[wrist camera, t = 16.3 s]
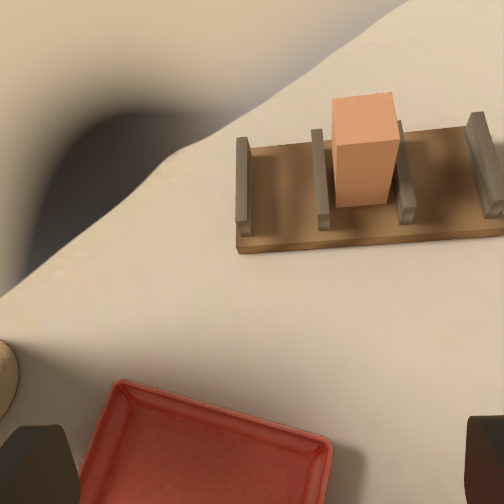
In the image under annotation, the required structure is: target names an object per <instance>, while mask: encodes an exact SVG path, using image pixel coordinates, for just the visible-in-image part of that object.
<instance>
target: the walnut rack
mask: <svg viewBox="0 0 504 504" xmlns="http://www.w3.org/2000/svg"><path fill="white" fill-rule="evenodd" d="M397 124H398V129H399V135H400V143H399V147H398V152H397V157H396V161H395V166H394V171H393V176H392V180H391V185H390V190H389V194H388V199H387V204H379V205H366V206H354V207H341V208H336V206H335V195H334V184H333V173H332V140H326V141H323V133H322V129H314V130H311V136H312V142H307V143H297V144H287V145H277V146H268V147H258V148H250V146H249V143H248V139H247V137H239V138H237V142H236V210H235V222H236V248H237V250H238V253H239V254H246V253H261V252H275V251H289V250H304V249H318V248H332V247H347V246H361V245H375V244H390V243H404V242H418V241H432V240H447V239H461V238H475V237H490V236H500V234H501V233H502V232H503V230H504V221H503V217H502V213H501V210H502V209H503V207H504V181H503V177H502V174H501V171H500V167H499V164H498V160H497V157H496V153H495V150H494V146H493V143H492V139H491V136H490V132H489V129H488V125H487V122H486V119H485V115H484V112H474V113H471V115H470V118H469V120H468V123H467V125H466V126H462V127H452V128H443V129H433V130H423V131H414V132H404V133H403V129H402V124H401V120H399V121H397Z"/></svg>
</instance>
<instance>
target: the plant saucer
mask: <svg viewBox="0 0 504 504" xmlns="http://www.w3.org/2000/svg"><path fill="white" fill-rule="evenodd" d="M333 450H334V449H333V445H332V443H331V442H330V441H329V439H328V438H326V437H324V436H321V435H317V434H314V433H310V432H307V431H303V430H299V429H296V428H293V427H289V426H286V425H282V424H279V423H276V422H272V421H268V420H265V419H262V418H258V417H254V416H251V415H247V414H244V413H240V412H237V411H233V410H230V409H227V408H224V407H220V406H216V405H213V404H209V403H206V402H203V401H199V400H195V399H192V398H189V397H185V396H181V395H178V394H175V393H171V392H168V391H165V390H161V389H158V388H155V387H151V386H148V385H144V384H141V383H138V382H134V381H131V380H127V379H119V380H116V381H114V382H113V383H112V385H111V387H110V389H109V392H108V394H107V397H106V400H105V403H104V405H103V407H102V410H101V413H100V415H99V417H98V420H97V423H96V426H95V428H94V431H93V433H92V436H91V438H90V441H89V444H88V447H87V449H86V452H85V454H84V456H83V459H82V462H81V464H80V467H79V470H78V476H79V479H80V485H81V493H80V501H79V504H324V499H325V494H326V488H327V484H328V479H329V474H330V468H331V463H332V457H333Z"/></svg>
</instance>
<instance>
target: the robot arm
mask: <svg viewBox="0 0 504 504" xmlns="http://www.w3.org/2000/svg"><path fill="white" fill-rule="evenodd" d="M18 375H19V373H18V364H17V360H16V357H15V355H14V353H13V351H12V350H11V348H10V347H9V346H8V345H6V344H5V343H4V342H3V341H0V419H1V418H2V416H3V415H4V413H5V412H6V411H7V409H8V408H9V406H10V404H11V402H12V400H13V398H14V395H15V391H16V388H17V384H18ZM464 487H465V495H466V500H467V504H504V415H495V416H470V417H469V419H468V422H467V436H466V454H465V472H464ZM80 493H81V485H80V479H79V476H78V473H77V469H76V466H75V463H74V460H73V457H72V453H71V450H70V447H69V444H68V441H67V437H66V434H65V432H64V430H63V428H62V427H61V426H60V425H24V426H20V427H19V428H17V429H16V430H15V431H14V432H13V433H12V434H11V436H10V437H9V438H8V439H7V440H6V442H5V443H4V444H3V445H2V446H1V448H0V504H79V501H80Z"/></svg>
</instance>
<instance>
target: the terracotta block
mask: <svg viewBox="0 0 504 504" xmlns="http://www.w3.org/2000/svg"><path fill="white" fill-rule="evenodd" d="M399 143H400V135H399V129H398V124H397V118H396V112H395V107H394V101H393V95H392V92H389V93H381V94H372V95H363V96H354V97H345V98H337V99H332V173H333V184H334V195H335V206H336V208H341V207H354V206H366V205H379V204H387V199H388V194H389V190H390V185H391V180H392V176H393V171H394V166H395V161H396V157H397V152H398V147H399Z"/></svg>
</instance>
